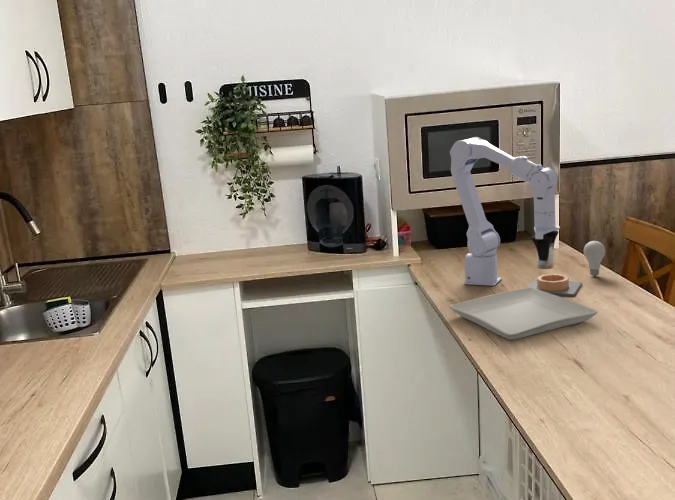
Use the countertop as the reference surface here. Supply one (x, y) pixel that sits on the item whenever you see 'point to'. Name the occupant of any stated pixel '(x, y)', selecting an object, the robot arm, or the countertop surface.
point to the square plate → (522, 312)
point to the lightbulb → (594, 256)
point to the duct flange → (556, 285)
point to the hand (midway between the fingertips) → (545, 258)
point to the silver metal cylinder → (549, 262)
